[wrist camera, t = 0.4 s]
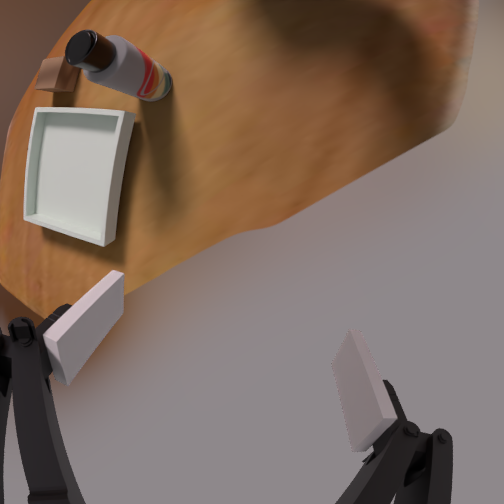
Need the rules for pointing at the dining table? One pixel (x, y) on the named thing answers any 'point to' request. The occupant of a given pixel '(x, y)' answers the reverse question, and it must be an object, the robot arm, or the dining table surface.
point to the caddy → (77, 170)
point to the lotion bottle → (118, 65)
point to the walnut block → (57, 75)
